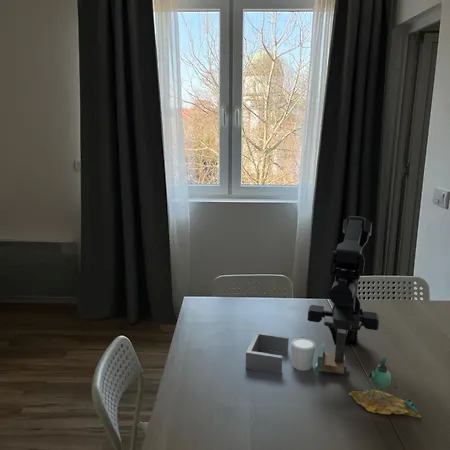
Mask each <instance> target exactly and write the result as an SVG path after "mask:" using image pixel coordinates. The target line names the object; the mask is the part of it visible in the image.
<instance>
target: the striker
mask: <svg viewBox="0 0 450 450" xmlns="http://www.w3.org/2000/svg"><path fill="white" fill-rule="evenodd" d="M345 339H346V330H343V329H337V339H336V345H335V353H330V352H325V345H326V344H325V343H322V342H321V343H320V344H319V350H318V354H317V362H318V364H317V370H316V371H317V372H328V373H333V374H334V373H335V374H341V375H345V374H344V367H345V361H346V355H345V348H346V347H345Z"/></svg>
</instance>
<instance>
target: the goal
mask: <svg viewBox="0 0 450 450" xmlns="http://www.w3.org/2000/svg"><path fill="white" fill-rule="evenodd" d="M289 343H290V337H289V336H288V335H287V336H285V335H280V334H279V335H278V334H271V333H266V332H259V331H256V332H255V333H254V335H253V338H252V340H251V342H250V343H249V346H247V347H248V348H247V350H246V351H245V369H248V370H254V371H260V372H266V373H271V374H272V373H273V374H277V375H282V372H283V360H284V359H283V355H278V354H271V353H266V352H259V350H262V351H269V352H275V353H281V354H288V353H289Z"/></svg>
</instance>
